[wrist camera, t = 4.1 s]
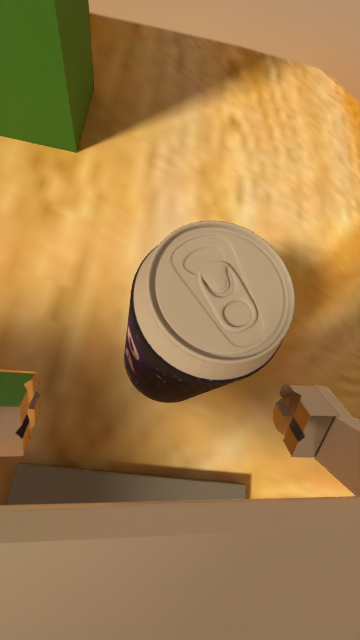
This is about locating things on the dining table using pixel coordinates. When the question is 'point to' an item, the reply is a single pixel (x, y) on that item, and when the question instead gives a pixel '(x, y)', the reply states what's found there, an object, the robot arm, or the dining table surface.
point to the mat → (110, 487)
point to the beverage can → (205, 311)
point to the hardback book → (45, 71)
